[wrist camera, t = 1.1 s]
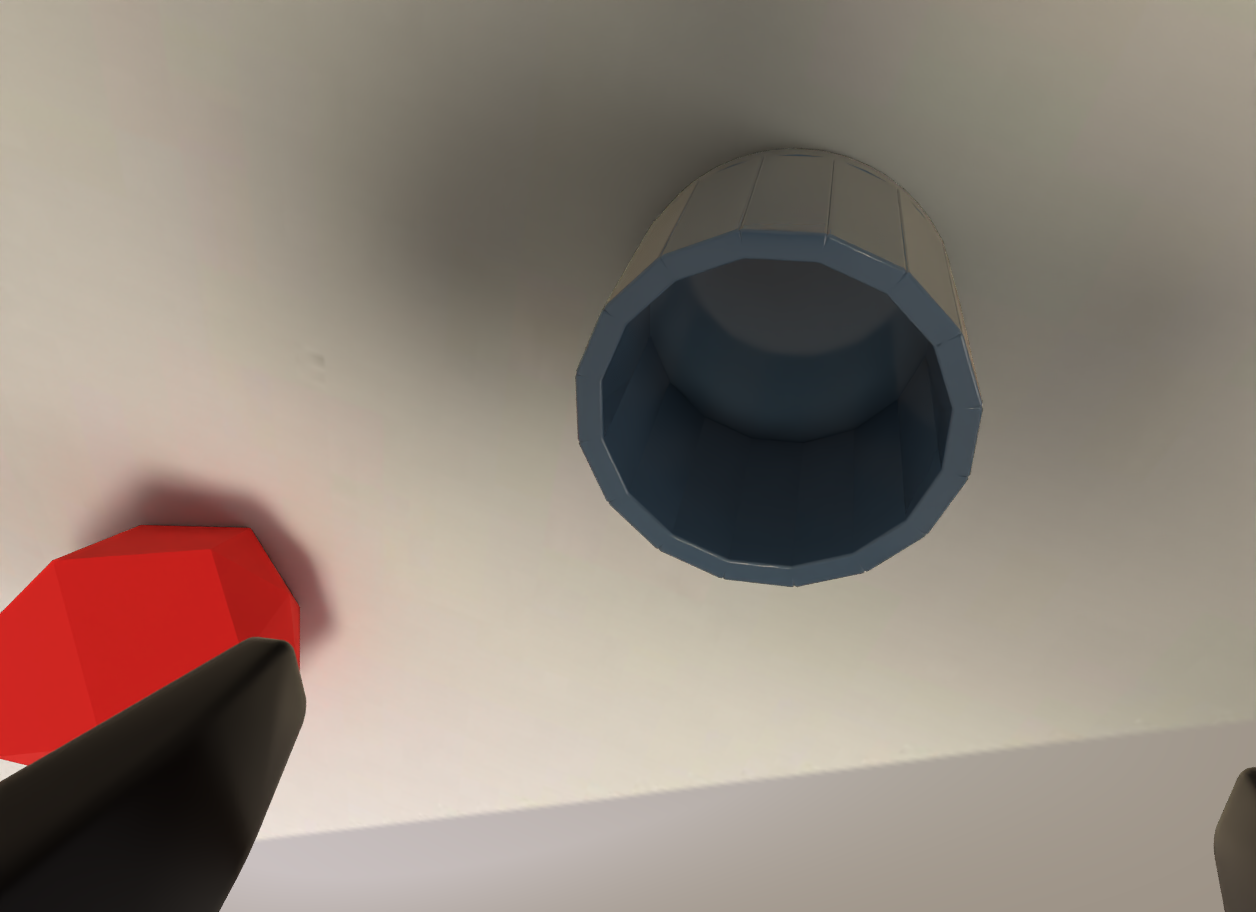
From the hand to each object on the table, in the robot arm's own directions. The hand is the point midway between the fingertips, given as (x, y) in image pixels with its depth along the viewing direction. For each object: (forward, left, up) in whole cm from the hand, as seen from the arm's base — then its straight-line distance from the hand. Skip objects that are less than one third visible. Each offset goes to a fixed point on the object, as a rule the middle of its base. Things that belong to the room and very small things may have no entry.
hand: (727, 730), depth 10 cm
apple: (-10, +15, -12) cm, 22 cm away
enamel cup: (-1, 0, -12) cm, 12 cm away
